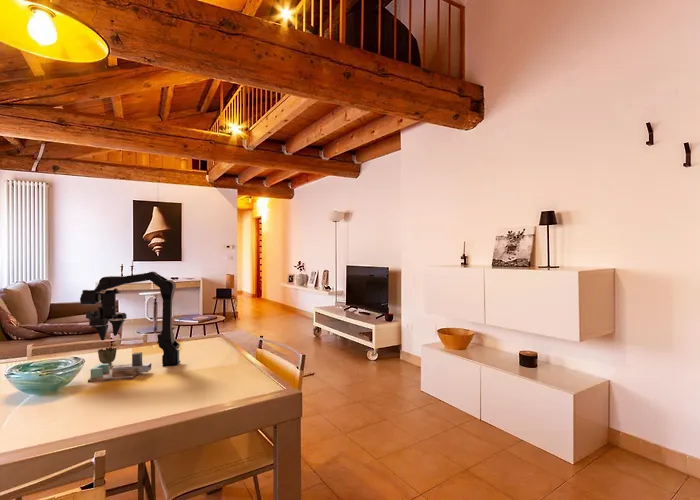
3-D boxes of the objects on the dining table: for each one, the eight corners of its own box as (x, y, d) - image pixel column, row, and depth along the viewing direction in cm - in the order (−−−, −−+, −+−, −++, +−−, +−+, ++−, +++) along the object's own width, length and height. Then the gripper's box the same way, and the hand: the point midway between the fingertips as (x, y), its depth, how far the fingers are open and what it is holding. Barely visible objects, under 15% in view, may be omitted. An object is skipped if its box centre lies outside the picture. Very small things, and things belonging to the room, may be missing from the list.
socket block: (109, 371, 163) (109, 363, 163) (101, 377, 155) (101, 368, 155) (99, 372, 162) (99, 364, 162) (90, 377, 155) (90, 369, 155)
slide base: (143, 369, 168) (143, 363, 168) (132, 379, 155) (132, 372, 155) (102, 372, 165) (102, 365, 165) (87, 382, 152) (87, 375, 152)
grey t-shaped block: (151, 369, 164) (151, 351, 165) (148, 372, 161) (148, 353, 161) (116, 371, 162) (116, 353, 162) (112, 374, 158) (112, 355, 158)
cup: (101, 369, 169) (101, 351, 169) (95, 366, 174) (95, 349, 174) (119, 365, 175) (119, 348, 175) (112, 362, 180) (112, 346, 180)
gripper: (103, 301, 179) (103, 334, 179) (76, 307, 160) (76, 343, 160) (126, 301, 180) (127, 333, 179) (102, 306, 161) (103, 342, 161)
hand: (109, 338), depth 170 cm, fingers open, 9 cm apart
